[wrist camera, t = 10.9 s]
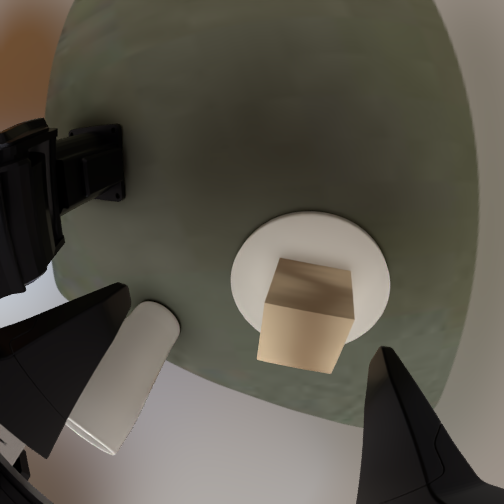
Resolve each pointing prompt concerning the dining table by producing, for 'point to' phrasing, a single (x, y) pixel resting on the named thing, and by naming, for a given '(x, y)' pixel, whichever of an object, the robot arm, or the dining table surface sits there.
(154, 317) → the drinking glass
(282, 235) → the plate
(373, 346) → the dining table surface
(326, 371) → the oak block
